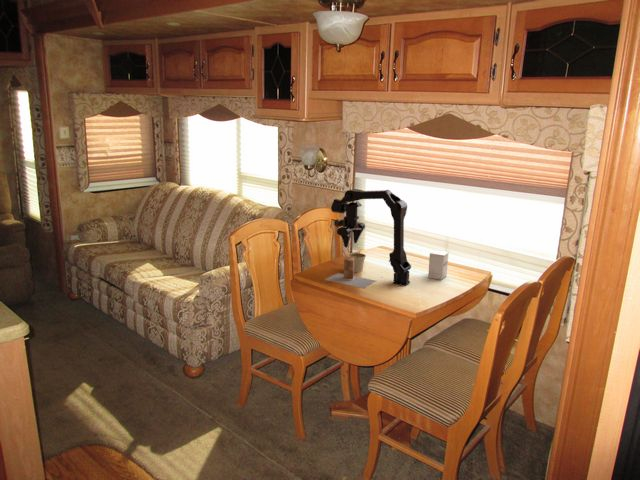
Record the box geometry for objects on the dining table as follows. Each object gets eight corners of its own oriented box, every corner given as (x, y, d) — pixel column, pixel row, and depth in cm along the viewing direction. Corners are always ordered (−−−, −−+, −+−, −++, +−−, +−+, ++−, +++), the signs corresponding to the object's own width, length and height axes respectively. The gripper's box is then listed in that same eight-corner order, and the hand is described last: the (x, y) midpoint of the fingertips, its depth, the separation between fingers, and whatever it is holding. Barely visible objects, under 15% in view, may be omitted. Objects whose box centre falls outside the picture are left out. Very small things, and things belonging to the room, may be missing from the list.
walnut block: (354, 277, 256) (354, 257, 253) (352, 280, 251) (353, 260, 249) (345, 276, 256) (345, 257, 254) (343, 279, 252) (344, 259, 250)
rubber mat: (376, 281, 251) (376, 280, 251) (364, 289, 240) (364, 288, 240) (337, 273, 262) (337, 272, 262) (324, 280, 252) (324, 279, 252)
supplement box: (442, 280, 254) (443, 255, 250) (427, 277, 257) (429, 253, 254) (447, 276, 260) (448, 252, 257) (433, 273, 264) (434, 249, 260)
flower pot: (344, 272, 264) (344, 256, 262) (351, 267, 272) (352, 251, 270) (361, 275, 260) (361, 258, 258) (368, 270, 268) (368, 254, 266)
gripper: (346, 209, 268) (346, 239, 272) (327, 215, 253) (327, 246, 257) (365, 212, 262) (364, 242, 266) (347, 218, 247) (346, 250, 251)
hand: (350, 245), depth 260 cm, fingers open, 9 cm apart
